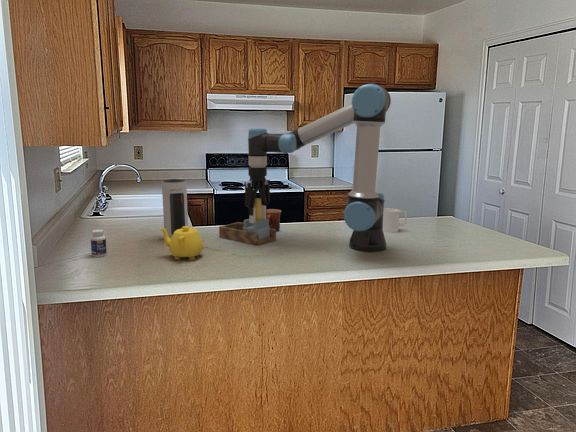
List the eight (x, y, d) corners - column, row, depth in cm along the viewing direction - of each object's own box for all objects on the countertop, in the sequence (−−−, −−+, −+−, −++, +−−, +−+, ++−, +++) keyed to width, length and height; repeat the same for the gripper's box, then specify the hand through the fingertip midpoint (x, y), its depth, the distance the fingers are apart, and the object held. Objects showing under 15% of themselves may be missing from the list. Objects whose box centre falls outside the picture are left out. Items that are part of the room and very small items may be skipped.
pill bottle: (97, 258, 183) (96, 232, 181) (88, 255, 186) (86, 231, 184) (109, 254, 188) (108, 230, 186) (100, 252, 190) (99, 228, 188)
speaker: (163, 242, 207) (160, 181, 201) (164, 236, 217) (162, 178, 211) (188, 241, 209) (186, 180, 203) (188, 235, 219) (186, 177, 213)
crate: (269, 240, 206) (269, 219, 205) (257, 244, 200) (257, 222, 198) (255, 237, 211) (255, 217, 209) (243, 240, 205) (242, 219, 203)
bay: (275, 243, 207) (276, 229, 206) (257, 248, 198) (257, 234, 197) (238, 234, 221) (238, 222, 219) (219, 239, 211) (219, 226, 210)
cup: (407, 233, 227) (408, 212, 225) (381, 232, 229) (382, 211, 227) (405, 229, 235) (406, 208, 233) (380, 228, 237) (381, 208, 235)
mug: (265, 229, 231) (265, 208, 229) (283, 230, 229) (283, 209, 227) (258, 235, 219) (258, 213, 217) (277, 236, 218) (277, 214, 216)
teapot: (190, 249, 196) (189, 220, 194) (211, 256, 186) (210, 226, 184) (159, 256, 187) (158, 226, 184) (180, 264, 177) (179, 232, 174)
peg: (262, 226, 204) (262, 198, 202) (257, 228, 202) (257, 199, 199) (256, 225, 206) (256, 197, 204) (252, 227, 204) (251, 198, 201)
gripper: (265, 164, 208) (265, 217, 213) (234, 167, 194) (235, 224, 199) (279, 165, 204) (278, 219, 209) (248, 168, 189) (248, 226, 194)
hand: (257, 221), depth 204 cm, fingers open, 6 cm apart
